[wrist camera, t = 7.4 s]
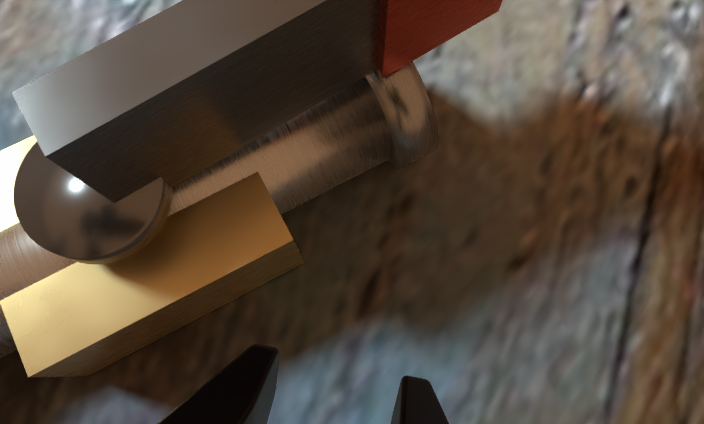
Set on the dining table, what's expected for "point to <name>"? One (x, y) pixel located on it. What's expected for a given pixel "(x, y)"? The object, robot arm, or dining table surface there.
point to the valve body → (200, 231)
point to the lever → (196, 104)
